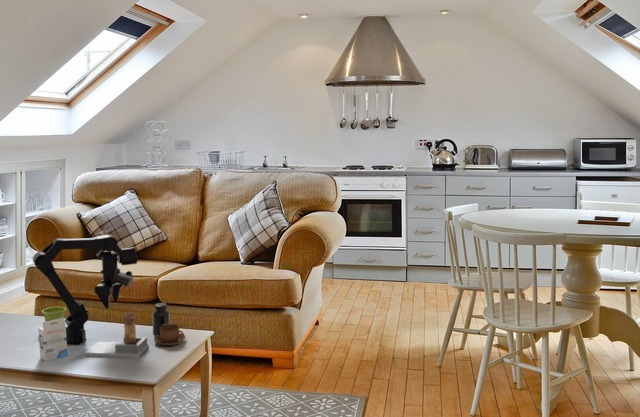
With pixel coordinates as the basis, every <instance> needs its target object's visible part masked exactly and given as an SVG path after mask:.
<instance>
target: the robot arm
mask: <svg viewBox="0 0 640 417" xmlns="http://www.w3.org/2000/svg"><path fill="white" fill-rule="evenodd" d="M89 249H91V250H92V249H94V250H99V251H98V252H97V253H96V257H97V258H101V266H102V268H101V270H100V274H102V279H101V280H100V283H99V284H96V285H95V287H94V288H93V293H94V294H96V296H97V297H98V298H99V299H100V301H101V303H102V305H103V306H104V308H105V309H109V307H110V297H111V296H112V298H113V301H114V303H118V302H119V297H120V293H121V289H122V288H123V287H129V286H130V285H131V284H132V281H133V279H134V276H133V272H132V270H128V271H126V272H121V269H120V267H118V264H120V265H121V266H122V267H123V266H129V265H131V266H132V265H137V263H138V256H137V252H136V248H135V247H133V246H131V247H125V248H121V247H120V246H119V245H118V240H117V238H115V237H114V236H113V235H111V234H103V235H98V236H94V237H89V238H88V237H86V238H83V237H82V238H60V237H59V238H55V239H53V241H52V242H51V243H50V244H49V245H47V246H45V247H44V248H43V249H42V250H40V251H38V252H36V253H35V254H34V255H33V257H32V262H33V265H35V267H36V268H37V270H38V271H39V272H41V274H43V275H44V276H45V277H46V278H47V279H48V281H49V282H50V284H51V285H52V287H53V288H54V289H55V291H56V292H57V293H58V295H59V297H60V298H61V300H62V302H64V304H65V305H66V310H67V311H68V313H69V315H68V316H67V317H66V319H65V325H66V339H67V346H68V345H69V346H71V345H73V346H81V344H83V343H84V342H86V341H87V338H86V337H87V335H86V329H85V324H86V323H87V322H88V320H89V314H88V313H89V310H88V309H87V308H86V306H85V304H84V303H83V301H81V299H79V300H78V301H77V300H76V299H75V298H74V297H73V295H72V294H71V292H70V291H69V290H68V287H66V285H65V284H64V282H63V281H62V279H61V278H60V277H59V275H58V274H57V271H56V269H55V267H54V264H53V260H54V259H55V258H56V257H57V256H58V255H59V254H60V253H61V251H62V250H89Z"/></svg>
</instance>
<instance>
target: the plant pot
mask: <svg viewBox="0 0 640 417" xmlns="http://www.w3.org/2000/svg"><path fill="white" fill-rule="evenodd" d="M66 310H67V307H63V306H51V307H47V308H46V307H45V308H44V309H42V310H41V312H42V316H43V317H44V320H45V321H44V322H46V321H51V320H55V319H60V318H65V314H66ZM53 324H58V322H56V323H55V322H53V323H51V324H50V325H53Z"/></svg>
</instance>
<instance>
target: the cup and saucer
mask: <svg viewBox="0 0 640 417" xmlns="http://www.w3.org/2000/svg"><path fill="white" fill-rule="evenodd" d="M185 339H186V335H185V334H184V332H183V331H182V330H181V329H180V326H179V325H177V324H173V323H172V324H171V323H170V324H169V325H163V326H161V327H160V335H155V336H154V338H153V341H154V342H155V343H156V344H158V345H163V346H173V345H178V344H180V343H182V342H183V341H185Z"/></svg>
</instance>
